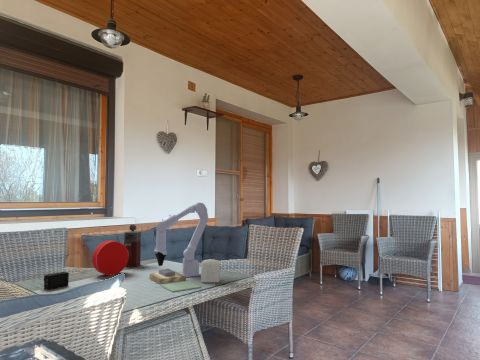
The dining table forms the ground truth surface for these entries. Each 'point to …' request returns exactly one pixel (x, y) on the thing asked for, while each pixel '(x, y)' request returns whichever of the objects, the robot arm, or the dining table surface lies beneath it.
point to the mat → (180, 286)
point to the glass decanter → (133, 246)
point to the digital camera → (56, 280)
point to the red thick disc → (110, 257)
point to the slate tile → (167, 272)
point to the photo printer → (210, 271)
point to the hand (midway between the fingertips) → (160, 265)
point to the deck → (167, 278)
